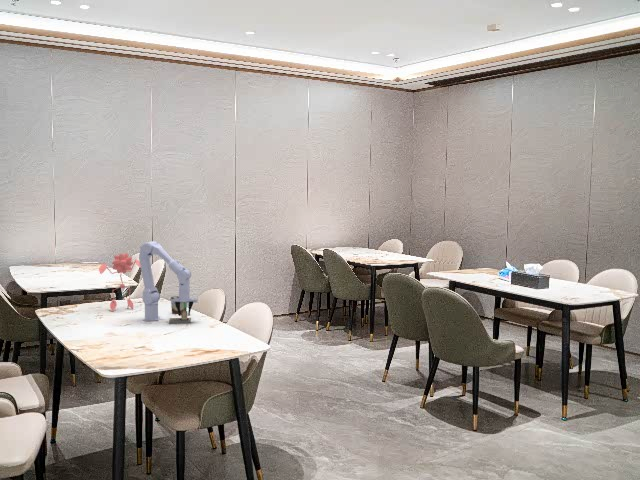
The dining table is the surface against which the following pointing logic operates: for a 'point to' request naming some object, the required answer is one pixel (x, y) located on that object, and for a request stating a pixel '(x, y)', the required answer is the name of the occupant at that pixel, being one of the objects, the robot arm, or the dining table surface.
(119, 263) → the figurine
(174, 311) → the food container
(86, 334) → the dining table surface
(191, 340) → the dining table surface
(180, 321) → the plate
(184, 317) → the peg
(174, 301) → the robot arm
